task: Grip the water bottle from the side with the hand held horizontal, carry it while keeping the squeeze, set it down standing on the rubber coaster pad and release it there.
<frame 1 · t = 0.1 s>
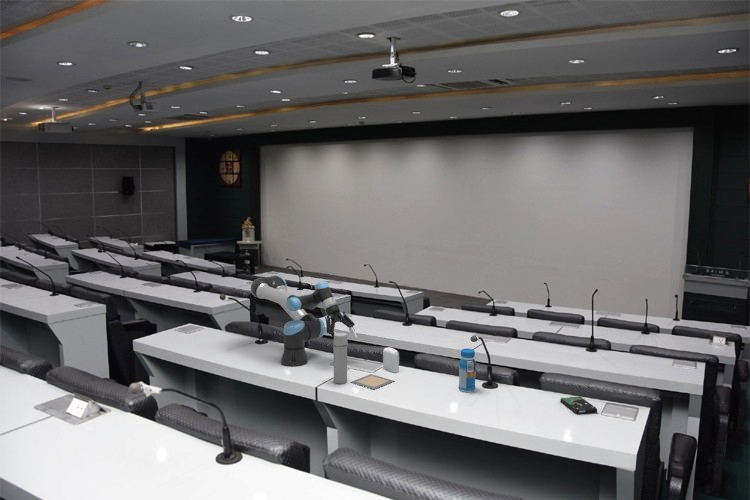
hand: (347, 340, 304), 15 cm above the table, tool tilted 35°, fingers open, 13 cm apart
pad: (372, 382, 282), on the table
water bottle: (340, 381, 283), on the table
disk drive: (578, 408, 250), on the table
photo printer: (390, 370, 301), on the table
beverage bottle: (466, 389, 272), on the table
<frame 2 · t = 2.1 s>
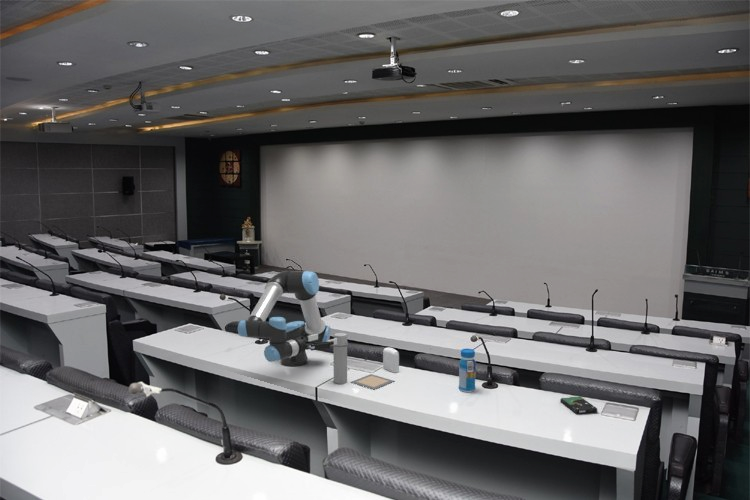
hand: (327, 338, 273), 25 cm above the table, tool horizontal, fingers open, 13 cm apart
nothing on the table moved.
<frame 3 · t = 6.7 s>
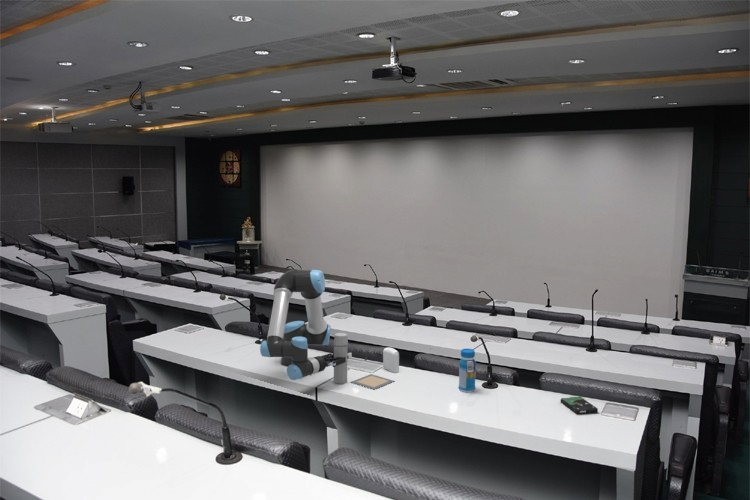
hand: (347, 354, 286), 13 cm above the table, tool horizontal, fingers open, 4 cm apart
water bottle: (340, 381, 283), on the table, touching gripper
everything else where it was.
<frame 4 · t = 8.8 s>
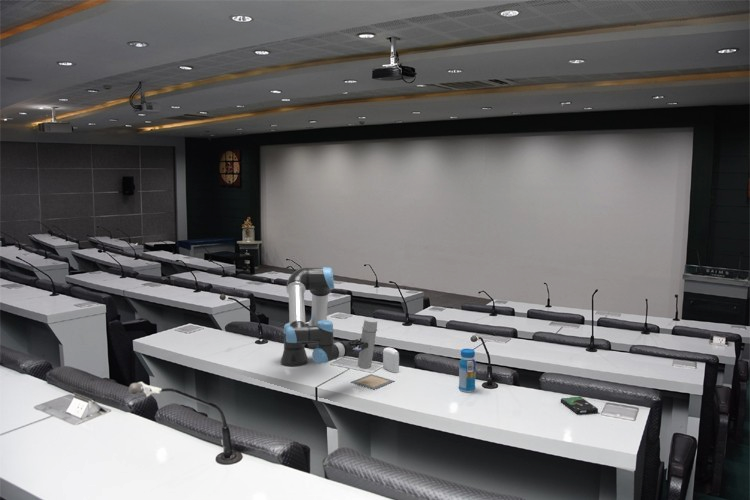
hand: (373, 340, 283), 21 cm above the table, tool horizontal, fingers closed on water bottle
water bottle: (364, 366, 281), point 9 cm above the table, touching gripper
everything else where it was.
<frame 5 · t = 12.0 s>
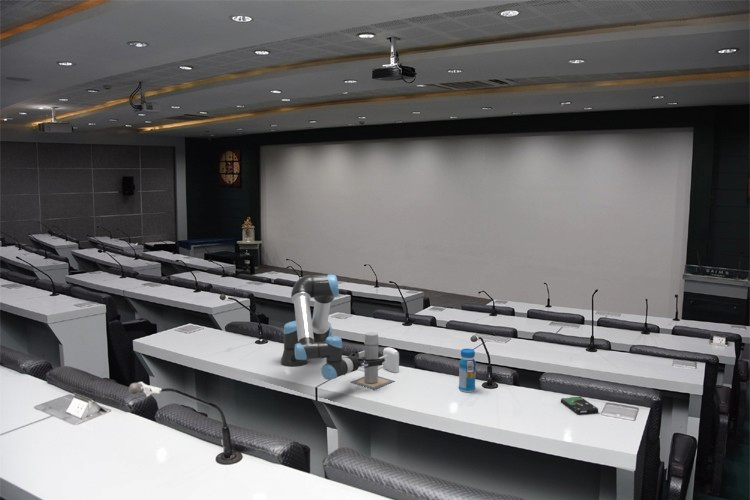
hand: (376, 355, 283), 14 cm above the table, tool horizontal, fingers open, 13 cm apart
water bottle: (371, 381, 282), resting on pad
everything else where it was.
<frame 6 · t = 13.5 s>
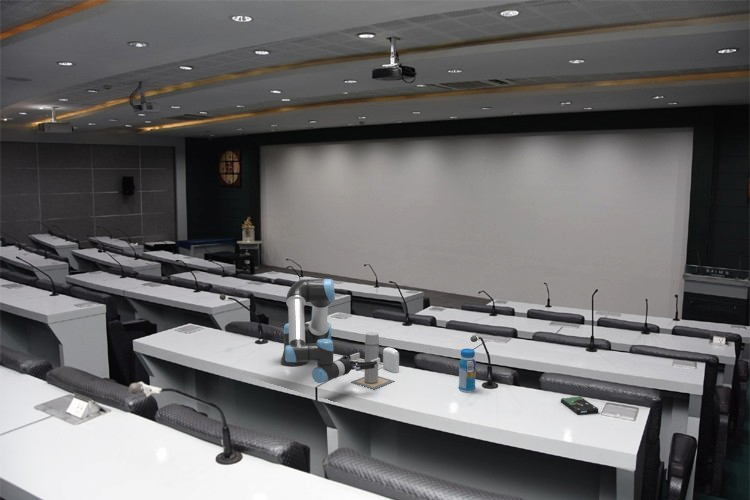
hand: (369, 357, 278), 14 cm above the table, tool horizontal, fingers open, 13 cm apart
nothing on the table moved.
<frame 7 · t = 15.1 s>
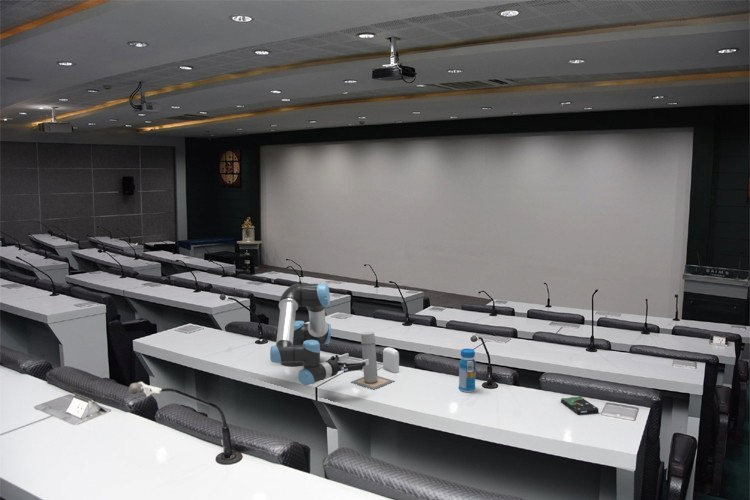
hand: (358, 358, 272), 15 cm above the table, tool horizontal, fingers open, 13 cm apart
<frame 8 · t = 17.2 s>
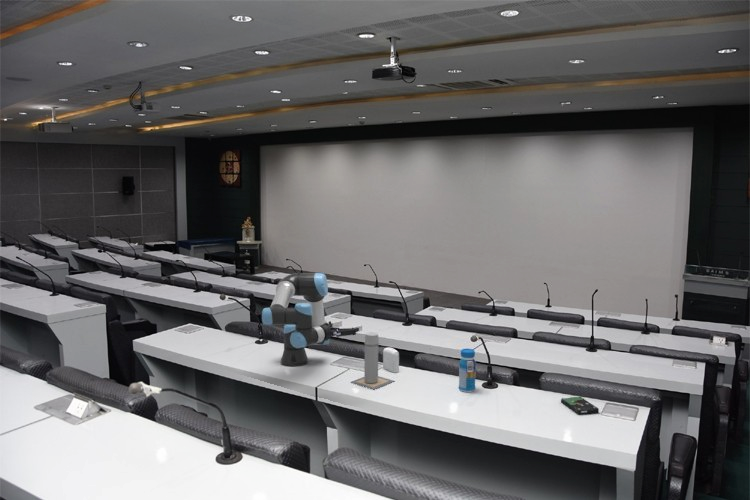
hand: (351, 325, 270), 32 cm above the table, tool horizontal, fingers open, 13 cm apart
at the end: water bottle inside the target area on the pad (0.5 cm from its centre), point 0.5 cm above the pad's base; water bottle tilted 4°; the gripper is holding nothing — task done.
